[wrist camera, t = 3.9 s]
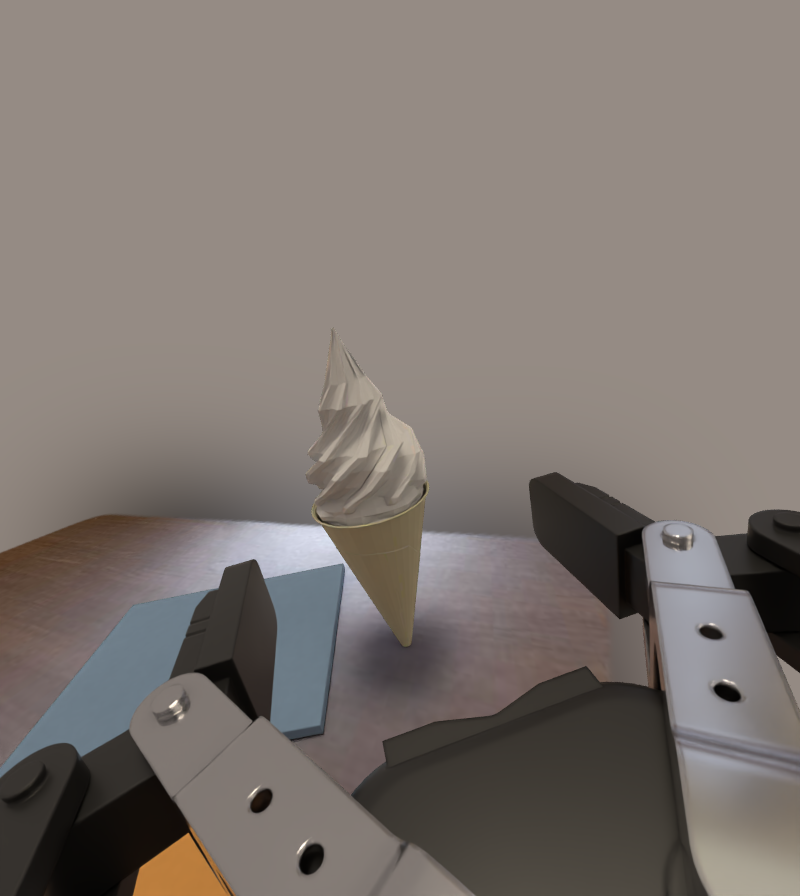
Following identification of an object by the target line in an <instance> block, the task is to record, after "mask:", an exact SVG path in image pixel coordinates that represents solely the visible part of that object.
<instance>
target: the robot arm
mask: <svg viewBox="0 0 800 896" xmlns="http://www.w3.org/2000/svg"><path fill="white" fill-rule="evenodd" d="M529 491H530V500H531V509H532V519H533V527H534V531H535V534H536V536H537V539H538V540H539V542H540V544H541V545H542V546H543V547H544V548H545V549H546V550H547V551H548V552H549V553H550V554H551V555H552V556H553V557H554V558H556V559H557V560H558V561H559V562H560V563H561V564H562V565H563V566H564V567H565V568H566V569H567V570H568V571H569V572H570V573H571V574H572V575H573V576H575V577H576V578H577V579H578V580H579V581H580V582H581V583H582V584H583V585H584V586H585V587H586V588H587V589H588V590H589V591H590V592H591V593H592V594H594V595H595V596H596V597H597V598H598V599H599V600H600V601H601V602H602V603H603V604H604V605H605V606H606V607H607V608H608V609H609V610H610V611H611V612H613V613H614V614H615V615H616V616H617V617H618V618H619V619H622V618H624V617H628V616H630V615H633V614H636V613H639V614H640V615H641V616H642V617H643V636H644V645H645V656H646V667H647V677H648V687H647V686H641V685H636V684H632V683H623V682H622V683H621V682H599V681H598V680H597V679H596V677H595V676H594V675H593V674H592V672H591V671H590V670H589V669H588V668H587V666H585V667H582V668H580V669H577V670H574V671H572V672H569V673H566V674H564V675H561V676H558V677H555V678H553V679H550V680H547V681H545V682H542V683H539V684H538V685H536V686H535V687H533V688H532V689H531V690H529V691H528V692H527V693H525V694H524V695H522V696H521V697H520V698H518V699H517V700H515V701H514V702H513V703H511V704H510V705H508V706H507V707H506V708H504V709H503V710H501V711H500V712H498V713H497V714H495V715H491V716H485V717H475V718H466V719H456V720H447V721H438V722H433V723H431V724H428V725H425V726H422V727H420V728H417V729H414V730H412V731H409V732H406V733H404V734H401V735H398V736H395V737H393V738H390V739H387V740H385V741H382V742H383V747H384V752H385V757H386V762H385V763H383V764H382V765H380V766H379V767H378V768H376V769H375V770H374V771H373V772H372V773H371V774H370V775H369V776H367V777H366V778H365V779H364V780H363V782H362V783H361V784H360V785H359V786H358V787H357V788H356V789H355V790H354V792H353V793H352V794H351V795H350V794H349V793H348V792H346V791H345V790H344V789H343V788H342V787H341V786H340V785H339V784H338V783H337V782H335V781H334V780H333V779H332V778H331V777H330V776H329V775H328V774H327V773H326V772H324V771H323V770H322V769H321V768H320V767H319V766H318V765H317V764H316V763H315V762H313V761H312V760H311V759H310V758H309V757H308V756H307V755H306V754H305V753H304V752H302V751H301V750H300V749H299V748H298V747H297V746H296V745H295V744H294V743H293V742H291V741H290V740H289V739H288V738H287V737H286V736H285V735H284V734H283V733H282V732H280V731H279V730H278V729H277V728H276V727H275V726H274V725H273V724H272V723H271V722H270V718H271V706H272V693H273V680H274V667H275V655H276V642H277V618H276V612H275V609H274V605H273V602H272V600H271V597H270V594H269V592H268V589H267V586H266V583H265V581H264V578H263V575H262V573H261V570H260V567H259V565H258V563H257V561H256V560H255V559H253V560H249V561H246V562H243V563H239V564H236V565H232V566H229V567H226V568H225V570H224V573H223V576H222V579H221V583H220V586H219V589H217V590H213V591H210V592H208V593H207V594H206V595H205V597H204V598H203V599H202V600H201V601H200V603H199V604H198V605H197V606H196V607H195V610H194V613H193V615H192V618H191V621H190V625H189V626H188V629H187V632H186V634H185V636H186V638H184V640H183V643H182V645H181V648H180V651H179V654H178V656H177V659H176V662H175V664H174V667H173V670H172V673H171V675H170V678H169V680H168V681H167V682H165V683H163V684H162V685H160V686H159V687H157V688H156V689H155V690H154V691H152V692H151V693H150V694H149V695H148V696H147V697H146V698H145V699H144V700H143V701H142V702H141V703H140V705H139V706H138V707H137V709H136V710H135V712H134V714H133V716H132V718H131V721H130V726H129V729H128V730H127V731H125V732H123V733H122V734H120V735H118V736H117V737H115V738H113V739H111V740H110V741H108V742H106V743H104V744H103V745H101V746H99V747H97V748H96V749H94V750H92V751H91V752H89V753H87V754H85V755H84V756H82V757H81V756H80V754H79V753H78V751H77V750H76V748H75V747H74V746H73V745H72V744H69V743H57V744H53V745H50V746H47V747H44V748H42V749H40V750H38V751H36V752H34V753H32V754H31V755H29V756H27V757H26V758H24V759H23V760H21V761H20V762H19V763H17V764H16V765H14V766H13V767H12V768H11V769H10V770H8V771H7V772H6V773H5V774H4V775H3V776H2V777H1V778H0V896H133V893H134V889H135V885H136V881H137V877H138V873H139V869H140V867H142V866H143V865H144V864H146V863H147V862H149V861H150V860H151V859H153V858H154V857H156V856H157V855H158V854H160V853H161V852H163V851H164V850H165V849H167V848H168V847H169V846H171V845H172V844H174V843H175V842H176V841H178V840H179V839H181V838H182V837H183V836H185V835H186V834H189V836H190V837H191V839H192V841H193V842H194V844H195V845H196V847H197V849H198V850H199V852H200V853H201V855H202V856H203V858H204V860H205V861H206V863H207V864H208V866H209V868H210V869H211V871H212V872H213V874H214V876H215V877H216V879H217V880H218V882H219V884H220V885H221V887H222V888H223V890H224V892H225V893H226V895H227V896H800V710H799V708H798V706H797V703H796V701H795V698H794V696H793V693H792V691H791V689H790V687H789V684H788V682H787V679H786V677H785V674H784V672H783V670H782V667H781V665H780V663H779V660H778V658H777V656H778V657H780V658H781V659H782V660H784V661H785V662H786V663H787V664H789V665H790V666H791V667H793V668H794V669H795V670H797V671H798V672H799V673H800V512H797V511H790V510H765V511H760V512H757V513H755V514H753V515H751V516H750V518H749V522H748V533H747V534H736V535H725V536H714V535H713V534H712V533H711V532H710V531H709V530H707V529H705V528H703V527H701V526H699V525H696V524H693V523H689V522H684V521H676V520H665V521H658V522H655V521H653V520H651V519H649V518H647V517H646V516H644V515H642V514H641V513H639V512H637V511H635V510H634V509H632V508H630V507H629V506H627V505H625V504H623V503H622V504H621V503H620V501H618V500H617V499H615V498H613V497H609V495H608V494H606V493H604V492H603V491H601V490H599V489H597V488H595V487H592V486H588V485H585V484H581V483H574V482H572V481H571V480H569V479H567V478H566V477H564V476H562V475H561V474H559V473H557V472H554V473H550V474H547V475H544V476H540V477H537V478H534V479H531V481H530V483H529ZM776 655H777V656H776Z"/></svg>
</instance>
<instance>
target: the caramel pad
mask: <svg viewBox="0 0 800 896" xmlns="http://www.w3.org/2000/svg"><path fill="white" fill-rule="evenodd" d="M133 896H227V895H226V893H225V892H224V890H223V888H222V887H221V885H220V884H219V882H218V880H217V879H216V877H215V876H214V874H213V872H212V871H211V869H210V868H209V866H208V864H207V863H206V861H205V860H204V858H203V856H202V855H201V853H200V852H199V850H198V849H197V847H196V845H195V844H194V842H193V841H192V839H191V837H190V836H189V834H186V835H185V836H183V837H182V838H181V839H179V840H178V841H176V842H175V843H174V844H172V845H171V846H169V847H168V848H167V849H165V850H164V851H163V852H161V853H160V854H158V855H157V856H156V857H154V858H153V859H151V860H150V861H149V862H147V863H146V864H144V865H143V866H142V867H140V869H139V873H138V877H137V881H136V885H135V889H134V893H133Z"/></svg>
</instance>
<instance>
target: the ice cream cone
mask: <svg viewBox="0 0 800 896" xmlns="http://www.w3.org/2000/svg"><path fill="white" fill-rule="evenodd" d="M382 397H383V395H382V394H381V392H380V390H378V389H377V388H376V387H375V386H374V384H373V383H372V382H371V381H370V380H369V378H368V377H367V376H366V375H365V373H364V372H363V370H362V369H361V368H360V366H359V365H358V363H357V362H356V361H355V359H354V358H353V356H352V355H351V353H350V352H349V351H348V350H347V348H346V347H345V345H344V344H343V342H342V341H341V339H340V337H339V336H338V334H337V333H336V331H335V329H334V328H332V329H331V340H330V347H329V354H328V361H327V368H326V375H325V383H324V388H323V391H322V395H321V399H320V402H319V406H320V407H319V409H318V412H319V416H320V420H321V423H322V431H323V432H322V434H321V435H320V437H319V438H318V439H317V441H316V442H315V443H314V444H313V445H312V447H311V448H310V449H309V450H308V455H309V456H310V457H311V458H312V459H313V460H314V461H316V463H315V465H313V466H312V467H311V468H310V469H309V470H308V471H307V472H306V474H305V475H306V478H307V480H308V483H309V484H314V485H317V486H318V487H319V489H323V490H322V491H321V493H320V494H319V496H317V497H316V498H315V503H314V504H313V506H312V511H311V513H312V516H313V518H314V519H315V521H316V522H318V523H319V524H321V525H322V526H323V528H324V529H325V531H326V532H327V534H328V535H329V537H330V538H331V540H332V541H333V543H334V544H335V546H336V548H337V549H338V551H339V552H340V554H341V555H342V557H343V558H344V560H345V561H346V563H347V564H348V566H349V567H350V569H351V570H352V572H353V573H354V575H355V576H356V578H357V579H358V581H359V582H360V584H361V585H362V587H363V588H364V590H365V591H366V593H367V594H368V596H369V597H370V599H371V600H372V601H373V603H374V604H375V606H376V607H377V609H378V610H379V612H380V613H381V615H382V616H383V618H384V619H385V621H386V622H387V624H388V625H389V627H390V628H391V630H392V631H393V633H394V634H395V636H396V637H397V639H398V640H399V642H400V643H401V645H402V646H403V647H408V646H410V645H411V643H412V632H413V622H414V612H415V602H416V592H417V582H418V572H419V561H420V548H421V538H422V526H423V517H424V506H425V497H426V496H427V494H428V491H429V483H428V481H427V474H426V466H425V459H424V453H423V451H422V448H421V446H420V445H419V442H418V441H417V438H416V437H415V435H414V432H413V429H412V428H411V427H409V426H408V425H406V424H405V423H403V422H402V421H400V420H398V419H397V418H395V417H393V416H392V415H390V414H389V413H388V412H387V409H386V406H385V403H384V401H383V398H382Z"/></svg>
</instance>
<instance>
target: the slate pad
mask: <svg viewBox="0 0 800 896" xmlns="http://www.w3.org/2000/svg"><path fill="white" fill-rule="evenodd" d="M344 572H345V568H344V565H343V564H338V565H333V566H327V567H322V568H317V569H312V570H307V571H302V572H297V573H292V574H287V575H282V576H277V577H272V578H267V579H264V581H265V583H266V586H267V589H268V592H269V594H270V597H271V600H272V602H273V605H274V609H275V612H276V618H277V642H276V655H275V667H274V680H273V693H272V706H271V718H270V722H271V723H272V724H273V725H274V726H275V727H276V728H277V729H278V730H279V731H280V732H282V733H283V734H284V735H285V736H286V737H287V738H288V739H289V740H290V739H295V738H301V737H306V736H311V735H316V734H322V733H323V730H324V723H325V715H326V708H327V700H328V693H329V685H330V677H331V670H332V662H333V655H334V647H335V640H336V632H337V625H338V617H339V610H340V602H341V595H342V587H343V579H344ZM217 589H219V588H217ZM217 589H211V590H206V591H201V592H196V593H191V594H186V595H181V596H176V597H171V598H166V599H161V600H156V601H151V602H146V603H141V604H136V605H133V606H132V607H131V608H130V609H129V611H128V612H127V613H126V614H125V616H124V617H123V618H122V619H121V621H120V622H119V623H118V624H117V625H116V627H115V628H114V629H113V630H112V632H111V633H110V634H109V635H108V636H107V638H106V639H105V640H104V641H103V643H102V644H101V645H100V646H99V647H98V649H97V650H96V651H95V652H94V654H93V655H92V656H91V657H90V659H89V660H88V661H87V662H86V663H85V665H84V666H83V667H82V668H81V670H80V671H79V672H78V673H77V674H76V676H75V677H74V678H73V679H72V681H71V682H70V683H69V684H68V685H67V687H66V688H65V689H64V690H63V692H62V693H61V694H60V695H59V697H58V698H57V699H56V700H55V701H54V703H53V704H52V705H51V706H50V708H49V709H48V710H47V711H46V712H45V714H44V715H43V716H42V717H41V719H40V720H39V721H38V722H37V723H36V725H35V726H34V727H33V728H32V730H31V731H30V732H29V733H28V735H27V736H26V737H25V738H24V739H23V741H22V742H21V743H20V744H19V746H18V747H17V748H16V749H15V750H14V752H13V753H12V754H11V755H10V757H9V758H8V759H7V760H6V761H5V763H4V764H3V765H2V766H1V768H0V778H1V777H2V776H3V775H4V774H5V773H6V772H7V771H8V770H10V769H11V768H12V767H13V766H14V765H16V764H17V763H19V762H20V761H21V760H23V759H24V758H26V757H27V756H29V755H31V754H32V753H34V752H36V751H38V750H40V749H42V748H44V747H47V746H50V745H53V744H57V743H69V744H72V745H73V746H74V747H75V748H76V750H77V751H78V753H79V754H80V756H81V757H82V756H84V755H85V754H87V753H89V752H91V751H92V750H94V749H96V748H97V747H99V746H101V745H103V744H104V743H106V742H108V741H110V740H111V739H113V738H115V737H117V736H118V735H120V734H122V733H123V732H125V731H127V730H128V729H129V726H130V721H131V718H132V716H133V714H134V712H135V710H136V709H137V707H138V706H139V705H140V703H141V702H142V701H143V700H144V699H145V698H146V697H147V696H148V695H149V694H150V693H151V692H152V691H154V690H155V689H156V688H157V687H159V686H160V685H162V684H163V683H165V682H167V681H168V680H169V678H170V675H171V673H172V670H173V667H174V664H175V662H176V659H177V656H178V654H179V651H180V648H181V645H182V643H183V640H184V638H186V636H185V634H186V632H187V629H188V626H189V625H190V621H191V618H192V615H193V613H194V610H195V607H196V606H197V605H198V604H199V603H200V601H201V600H202V599H203V598H204V597H205V595H206V594H207V593H208V592H210V591H213V590H217Z"/></svg>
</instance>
